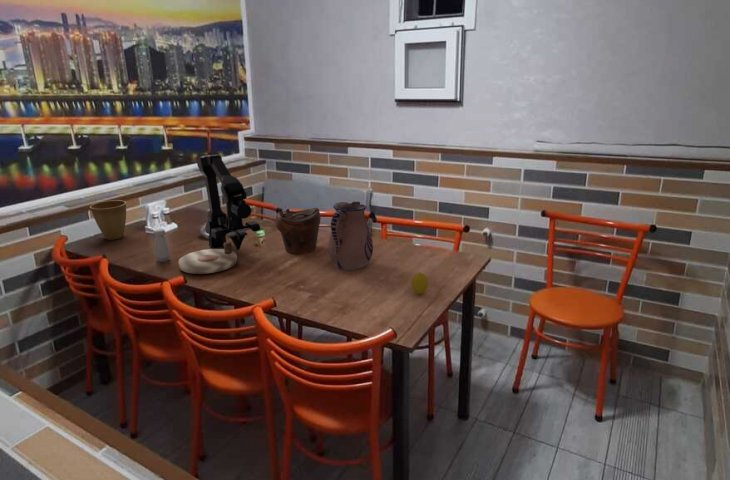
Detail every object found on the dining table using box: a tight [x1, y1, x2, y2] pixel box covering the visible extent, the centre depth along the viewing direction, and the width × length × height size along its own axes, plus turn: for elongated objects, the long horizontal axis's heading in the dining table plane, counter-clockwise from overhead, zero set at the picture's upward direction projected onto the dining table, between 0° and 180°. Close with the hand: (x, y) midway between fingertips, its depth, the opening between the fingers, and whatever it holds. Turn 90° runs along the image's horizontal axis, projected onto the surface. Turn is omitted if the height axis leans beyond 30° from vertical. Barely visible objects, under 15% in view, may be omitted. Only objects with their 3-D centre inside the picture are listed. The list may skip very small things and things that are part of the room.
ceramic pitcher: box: [327, 201, 374, 271], centre depth 191 cm, size 18×21×25 cm
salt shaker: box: [153, 228, 171, 263], centre depth 202 cm, size 6×6×13 cm
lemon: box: [411, 272, 429, 295], centre depth 170 cm, size 6×6×8 cm
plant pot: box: [89, 199, 127, 241], centre depth 231 cm, size 15×15×16 cm
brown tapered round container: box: [275, 207, 322, 255], centre depth 213 cm, size 18×20×18 cm
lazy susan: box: [178, 241, 238, 275], centre depth 197 cm, size 22×22×6 cm
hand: (237, 249), depth 203 cm, fingers closed
